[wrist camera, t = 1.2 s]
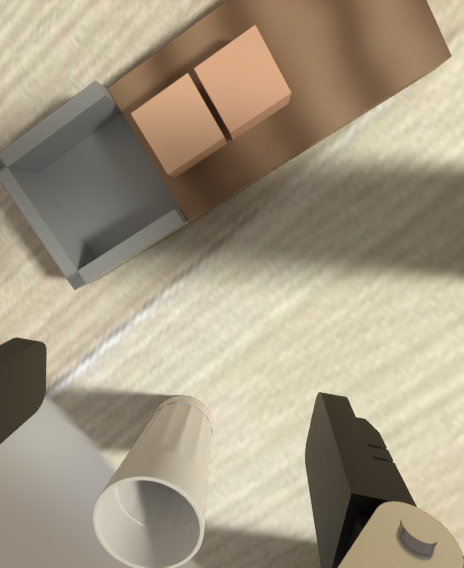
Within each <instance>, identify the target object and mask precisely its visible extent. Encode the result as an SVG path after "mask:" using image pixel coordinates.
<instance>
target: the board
mask: <svg viewBox="0 0 464 568" xmlns="http://www.w3.org/2000/svg"><path fill="white" fill-rule="evenodd" d="M254 25H256V27H257V29H258V31H259V32H260V34H261V36H262V38H263V40H264V42H265V44H266V46H267V48H268V49H269V51H270V53H271V55H272V57H273V59H274V61H275V63H276V65H277V66H278V68H279V70H280V72H281V74H282V76H283V78H284V80H285V82H286V83H287V85H288V87H289V89H290V91H291V96H290V100H289V103H288V104H287V105H285V106H284V107H282V108H281V109H279V110H278V111H276V112H275V113H273V114H272V115H270V116H269V117H267V118H266V119H264V120H263V121H261V122H259V123H258V124H256V125H255V126H253V127H252V128H250V129H249V130H247V131H246V132H244V133H243V134H241V135H240V136H238V137H237V138H235V139H234V140H233V139H232V138H231V136H230V134H229V132H228V131H227V129H226V127H225V125H224V124H223V122H222V120H221V118H220V116H219V115H218V113H217V111H216V109H215V108H214V106H213V104H212V102H211V101H210V99H209V97H208V95H207V94H206V92H205V90H204V88H203V87H202V85H201V83H200V81H199V79H198V77H197V75H196V72H195V70H194V68H195V67H197V66H198V65H200V64H201V63H202V62H204V61H205V60H207V59H208V58H209V57H211V56H212V55H214V54H215V53H216V52H218V51H219V50H221V49H222V48H223V47H225V46H226V45H228V44H229V43H230V42H232V41H233V40H235V39H236V38H237V37H239V36H240V35H242V34H243V33H244V32H246V31H247V30H249V29H250V28H251V27H253V26H254ZM450 57H451V54H450V52H449V49H448V47H447V45H446V43H445V40H444V38H443V36H442V34H441V32H440V29H439V27H438V25H437V23H436V20H435V18H434V16H433V14H432V12H431V9H430V7H429V5H428V3H427V1H426V0H227V1H226V2H224V3H223V4H221V5H220V6H219V7H217V8H216V9H215V10H213V11H212V12H211V13H209V14H208V15H207V16H205V17H204V18H203V19H201V20H200V21H198V22H197V23H196V24H194V25H193V26H192V27H190V28H189V29H188V30H186V31H185V32H184V33H182V34H181V35H180V36H178V37H177V38H175V39H174V40H173V41H171V42H170V43H169V44H167V45H166V46H165V47H163V48H162V49H161V50H159V51H158V52H156V53H155V54H154V55H152V56H151V57H150V58H148V59H147V60H146V61H144V62H143V63H142V64H140V65H139V66H138V67H136V68H135V69H133V70H132V71H131V72H129V73H128V74H127V75H125V76H124V77H123V78H121V79H120V80H119V81H117V82H116V83H115V84H113V85H112V86H110V87H109V88H108V91H109V92H110V94H111V96H112V97H113V99H114V101H115V102H116V104H117V105H118V107H119V109H120V110H121V112H122V114H123V115H124V117H125V119H126V120H127V122H128V124H129V125H130V127H131V128H132V130H133V132H134V133H135V135H136V137H137V138H138V140H139V142H140V143H141V145H142V146H143V148H144V150H145V151H146V153H147V155H148V156H149V158H150V160H151V161H152V163H153V165H154V166H155V168H156V169H157V171H158V173H159V174H160V176H161V178H162V179H163V181H164V183H165V184H166V186H167V187H168V189H169V191H170V192H171V194H172V196H173V197H174V199H175V201H176V202H177V204H178V206H179V207H180V209H181V210H182V212H183V214H184V215H185V217H186V219H187V220H188V221H192V220H195V219H196V218H198V217H199V216H201V215H203V214H204V213H206V212H208V211H209V210H211V209H212V208H214V207H216V206H217V205H219V204H220V203H222V202H224V201H225V200H227V199H228V198H230V197H232V196H233V195H235V194H236V193H238V192H240V191H241V190H243V189H244V188H246V187H248V186H249V185H251V184H252V183H254V182H256V181H257V180H259V179H260V178H262V177H264V176H265V175H267V174H268V173H270V172H272V171H273V170H275V169H276V168H278V167H280V166H281V165H283V164H284V163H286V162H288V161H289V160H291V159H292V158H294V157H296V156H297V155H299V154H300V153H302V152H304V151H305V150H307V149H308V148H310V147H312V146H313V145H315V144H316V143H318V142H320V141H321V140H323V139H324V138H326V137H328V136H329V135H331V134H332V133H334V132H336V131H337V130H339V129H340V128H342V127H344V126H345V125H347V124H349V123H350V122H352V121H353V120H355V119H357V118H358V117H360V116H361V115H363V114H365V113H366V112H368V111H369V110H371V109H373V108H374V107H376V106H377V105H379V104H381V103H382V102H384V101H385V100H387V99H389V98H390V97H392V96H393V95H395V94H397V93H398V92H400V91H401V90H403V89H405V88H406V87H408V86H409V85H411V84H413V83H414V82H416V81H417V80H419V79H421V78H422V77H424V76H425V75H427V74H429V73H430V72H432V71H433V70H435V69H436V68H437V67H439V66H440V65H441V64H442V63H444V62H445V61H446V60H448V59H449V58H450ZM187 73H188V74H189V76H190V78H191V79H192V81H193V83H194V85H195V86H196V88H197V90H198V92H199V93H200V95H201V97H202V99H203V100H204V102H205V104H206V106H207V107H208V109H209V111H210V113H211V114H212V116H213V118H214V120H215V121H216V123H217V125H218V127H219V128H220V130H221V132H222V134H223V135H224V137H225V139H226V141H227V144H226V145H224V146H223V147H221V148H220V149H218V150H217V151H215V152H214V153H212V154H211V155H209V156H208V157H206V158H205V159H203V160H202V161H200V162H199V163H197V164H195V165H194V166H192V167H191V168H189V169H188V170H186V171H185V172H183V173H182V174H180V175H179V176H177V177H176V178H175V177H173V176H170V175H168V174H167V173H166V171H165V169H164V168H163V166H162V164H161V163H160V161H159V159H158V158H157V156H156V154H155V153H154V151H153V149H152V148H151V146H150V144H149V143H148V141H147V140H146V138H145V136H144V135H143V133H142V131H141V130H140V128H139V126H138V125H137V123H136V121H135V120H134V118H133V116H132V115H131V113H132V112H134V111H135V110H136V109H138V108H139V107H141V106H142V105H143V104H145V103H146V102H148V101H149V100H150V99H152V98H153V97H155V96H156V95H157V94H159V93H160V92H162V91H163V90H164V89H166V88H167V87H169V86H170V85H171V84H173V83H174V82H176V81H177V80H178V79H180V78H181V77H183V76H184V75H185V74H187Z"/></svg>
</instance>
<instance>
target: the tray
mask: <svg viewBox="0 0 464 568" xmlns="http://www.w3.org/2000/svg"><path fill="white" fill-rule="evenodd" d="M0 182H1V184H2V185H3V187H4V188H5V189H6V191H7V192H8V194H9V195H10V197H11V198H12V200H13V201H14V203H15V204H16V206H17V207H18V208H19V210H20V211H21V213H22V214H23V216H24V217H25V219H26V220H27V222H28V223H29V224H30V226H31V227H32V229H33V230H34V232H35V233H36V235H37V236H38V238H39V239H40V241H41V242H42V243H43V245H44V246H45V248H46V249H47V251H48V252H49V254H50V255H51V257H52V258H53V260H54V261H55V262H56V264H57V265H58V267H59V268H60V270H61V271H62V273H63V274H64V276H65V277H66V278H67V280H68V281H69V283H70V284H71V286H72V287H73V289H74V290H76V289H78V288H80V287H83V286H85V285H87V284H90V283H92V282H94V281H96V280H99V279H100V278H102V277H103V276H105V275H107V274H108V273H110V272H111V271H113V270H115V269H116V268H118V267H119V266H121V265H123V264H124V263H126V262H127V261H129V260H131V259H132V258H134V257H135V256H137V255H139V254H140V253H142V252H143V251H145V250H147V249H148V248H150V247H151V246H153V245H155V244H156V243H158V242H159V241H161V240H163V239H164V238H166V237H167V236H169V235H171V234H172V233H174V232H175V231H177V230H179V229H180V228H182V227H183V226H185V225H187V224H188V223H190V222H191V221H188V220H187V219H186V217H185V215H184V214H183V212H182V210H181V209H180V207H179V206H178V204H177V202H176V201H175V199H174V197H173V196H172V194H171V192H170V191H169V189H168V187H167V186H166V184H165V183H164V181H163V179H162V178H161V176H160V174H159V173H158V171H157V169H156V168H155V166H154V165H153V163H152V161H151V160H150V158H149V156H148V155H147V153H146V151H145V150H144V148H143V146H142V145H141V143H140V142H139V140H138V138H137V137H136V135H135V133H134V132H133V130H132V128H131V127H130V125H129V124H128V122H127V120H126V119H125V117H124V115H123V114H122V112H121V110H120V109H119V107H118V105H117V104H116V102H115V101H114V99H113V97H112V96H111V94H110V92H109V91H108V90H107V89H106V88H105V87H103V86H102V85H101V84H100V83H98V82H97V81H94V82H93V83H92V84H90V85H89V86H88V87H86V88H85V89H84V90H82V91H81V92H80V93H78V94H77V95H76V96H74V97H73V98H72V99H70V100H69V101H68V102H66V103H65V104H64V105H62V106H61V107H60V108H58V109H57V110H56V111H54V112H53V113H52V114H50V115H49V116H48V117H46V118H45V119H44V120H42V121H41V122H40V123H38V124H37V125H36V126H34V127H33V128H32V129H30V130H29V131H28V132H26V133H25V134H24V135H22V136H21V137H20V138H18V139H17V140H16V141H14V142H13V143H12V144H10V145H9V146H8V147H6V148H5V149H4V150H2V151H1V152H0ZM192 221H193V220H192Z"/></svg>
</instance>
